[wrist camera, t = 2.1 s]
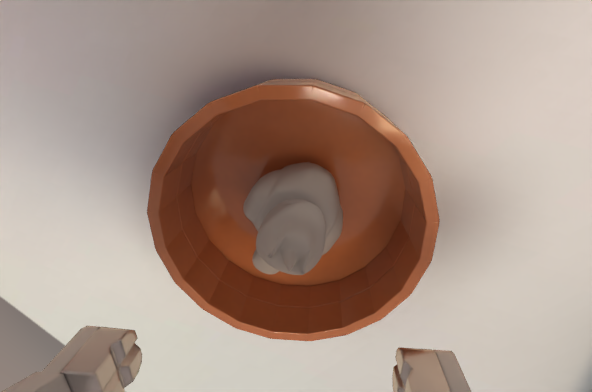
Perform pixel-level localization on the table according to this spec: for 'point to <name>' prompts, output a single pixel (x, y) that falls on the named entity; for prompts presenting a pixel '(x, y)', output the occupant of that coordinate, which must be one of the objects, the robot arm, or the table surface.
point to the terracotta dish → (242, 233)
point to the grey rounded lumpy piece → (294, 218)
